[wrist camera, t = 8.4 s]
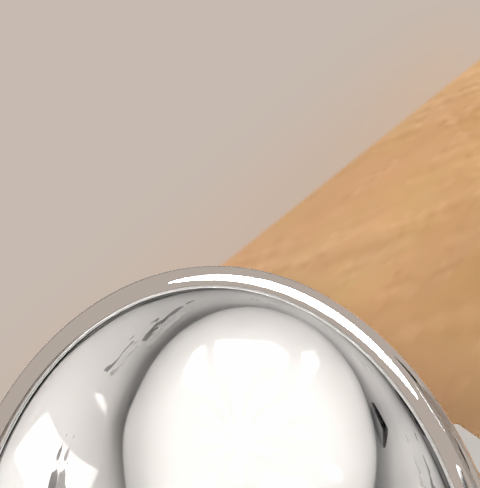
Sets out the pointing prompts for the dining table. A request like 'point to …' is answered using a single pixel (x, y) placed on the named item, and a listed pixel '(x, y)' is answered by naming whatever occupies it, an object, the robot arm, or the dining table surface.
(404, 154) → the dining table surface
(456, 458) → the beer glass
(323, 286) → the dining table surface
